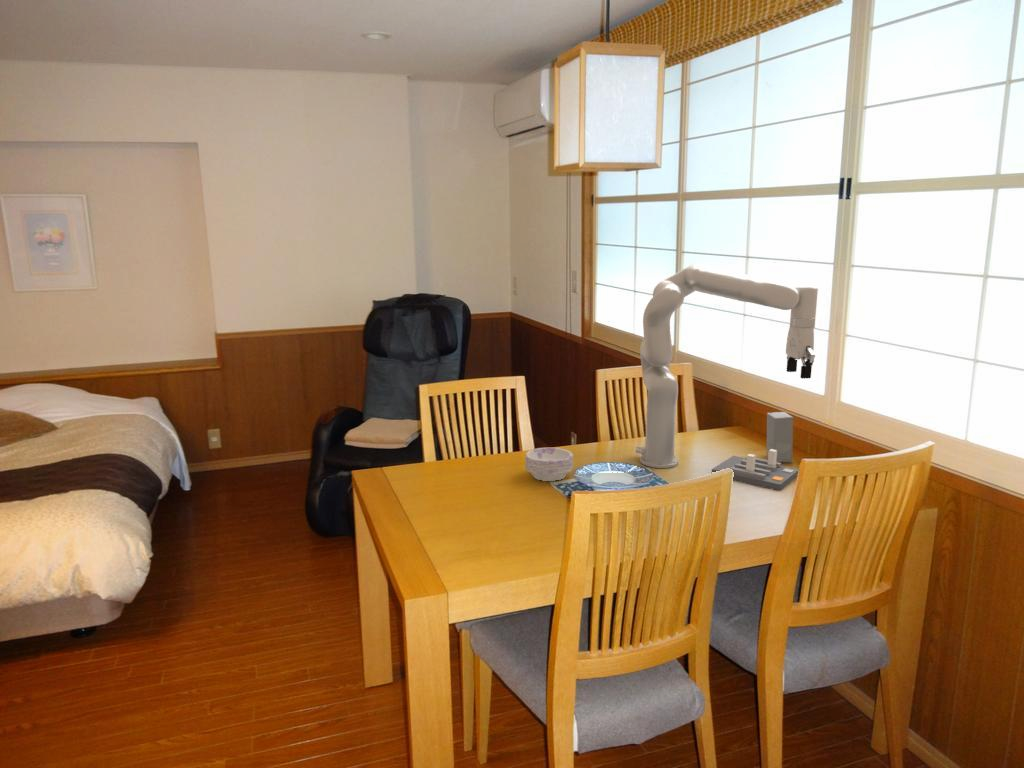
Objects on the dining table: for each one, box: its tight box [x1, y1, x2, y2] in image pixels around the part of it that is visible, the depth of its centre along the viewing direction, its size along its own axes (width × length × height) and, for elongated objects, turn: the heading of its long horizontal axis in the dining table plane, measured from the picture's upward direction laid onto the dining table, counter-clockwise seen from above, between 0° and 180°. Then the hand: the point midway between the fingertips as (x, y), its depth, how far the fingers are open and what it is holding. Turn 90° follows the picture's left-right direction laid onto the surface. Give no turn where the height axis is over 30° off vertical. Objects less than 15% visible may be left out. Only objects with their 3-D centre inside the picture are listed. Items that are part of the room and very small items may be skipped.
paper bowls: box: [524, 446, 574, 482], centre depth 236 cm, size 15×15×8 cm
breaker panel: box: [711, 455, 800, 492], centre depth 236 cm, size 22×17×3 cm
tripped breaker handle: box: [746, 453, 757, 472], centre depth 232 cm, size 2×2×6 cm
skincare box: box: [765, 411, 794, 463], centre depth 250 cm, size 8×7×16 cm
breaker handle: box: [767, 449, 777, 466], centre depth 237 cm, size 2×2×6 cm
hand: (798, 374), depth 242 cm, fingers open, 9 cm apart
